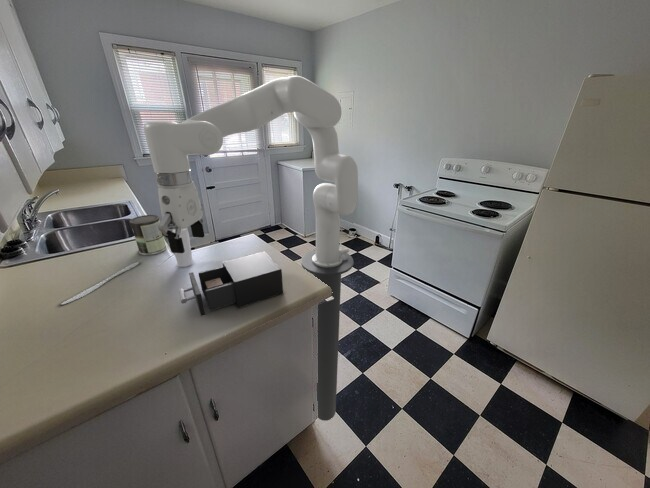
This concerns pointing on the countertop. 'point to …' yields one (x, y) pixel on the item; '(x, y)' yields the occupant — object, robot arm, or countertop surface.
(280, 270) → the cabinet
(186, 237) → the drinking glass
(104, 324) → the countertop surface
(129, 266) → the butter knife
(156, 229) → the coffee can
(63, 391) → the countertop surface
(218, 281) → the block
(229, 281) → the drawer
